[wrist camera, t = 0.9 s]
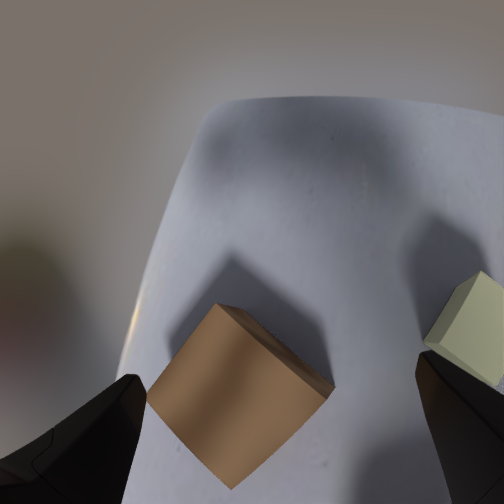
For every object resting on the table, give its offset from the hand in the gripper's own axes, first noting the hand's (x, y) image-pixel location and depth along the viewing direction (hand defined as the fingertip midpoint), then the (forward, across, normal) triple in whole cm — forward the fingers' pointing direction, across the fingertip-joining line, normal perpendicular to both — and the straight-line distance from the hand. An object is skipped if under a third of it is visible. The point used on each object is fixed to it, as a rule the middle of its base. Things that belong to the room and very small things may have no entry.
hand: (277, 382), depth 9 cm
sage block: (+10, -14, +8) cm, 18 cm away
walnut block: (+11, +3, +12) cm, 17 cm away
